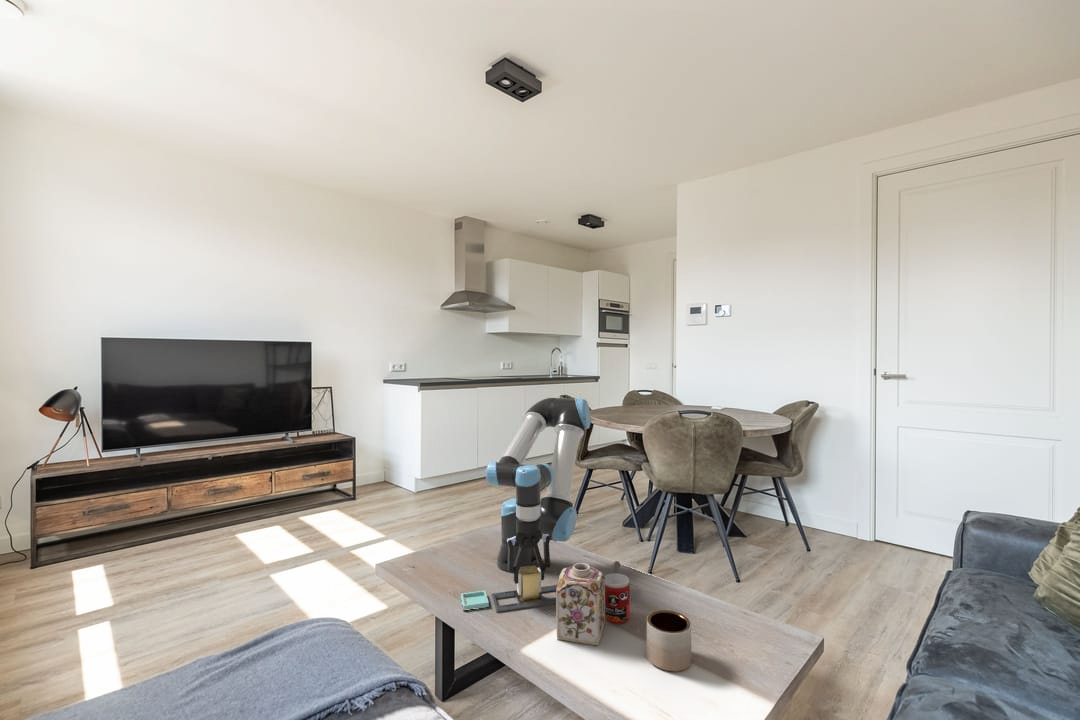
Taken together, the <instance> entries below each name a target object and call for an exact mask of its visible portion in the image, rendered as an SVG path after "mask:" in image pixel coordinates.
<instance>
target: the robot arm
mask: <svg viewBox="0 0 1080 720" xmlns="http://www.w3.org/2000/svg"><path fill="white" fill-rule="evenodd" d="M590 427H591V410H590V406H589V403H588V401H587V400H586V399H583V398H576V397H574V398H571V397H570V398H566V397H565V398H564V397H563V398H562V397H547V398H546V397H545V398H544V399H542V400H540V401H537V402H536V403H535V404H533V405H532V406H530V407H529V409H528V410H526V412H525V414H524V416H523V417H522V424H521V425H520V426H519V429H518V430H517V432H516V434H514V437H513V439H512V440H511V442H510V443H509V445H508V447H507V448H506V450H505V451H504V453H503V455H502V456H501V458H500V459H499V461H498V462H497V461H494V462H493V461H492V462H489V463H488V465H487V466H486V470H485V479H486V482H487V483H488V484H489V485H492V486H497V487H510V488H515V496H516V497H513V498H509V499H507V500H505V501H503V503H502V505H501V509H500V510H501V511H500V519H501V520H500V521H501V522H500V523H501V526H500V527H501V534H500V535H501V543H500V546H499V550H498V553H497V556H496V566H497V567H498V569H500V570H502V571H504V572H508V573H513V581H514V584H515V585H516V590H517V592H518V594H519V595H521V573H520V571H519V569H520V567H526V566H534V565H536V567H537V569H538V571H539V572H540V576H539V592H541V587H542V581H544V580H545V571H546V569H547V568H550V567H551V559H550V556H551V555H550V541H553V542H566V541H569V540H570V538H571V537H573V536H572V535H573V533H574V532H575V528H576V525H577V514H578V513H577V510H576V508H575V507H574V506H573V505H574V503H573V502H572V500H571V492H572V486H573V481H574V480H573V479H574V473H575V466H576V459H577V453H578V448H579V440H580V438H581V437H582V436H584V434H585V430H588V429H590ZM547 428H553V429H554V432H555V433H556V437H555V438H556V439H555V444H554V449H553V454H552V455H553V456H552V459H551V460H552V461H551V465H550V464H548V463H543V462H542V463H538V464H536V465H532V464H524V463H525V460H526V458H527V457H528V455H529V453H530V452H531V449H532V448H533V446H534V444H535V442H536V441H537V439H538V437H539V435H540V433H542V432H544V431H545V430H546V429H547ZM546 488H547V489H546ZM545 489H546V493H545V494H544V495H543V496H541V492H542V491H544V490H545ZM540 540H542V541H543V542H542V543H543V544H542V545H543V559H542V555H541V553H540V548H539V542H540ZM543 560H544V561H543Z"/></svg>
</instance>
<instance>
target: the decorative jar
mask: <svg viewBox="0 0 1080 720" xmlns="http://www.w3.org/2000/svg"><path fill="white" fill-rule="evenodd" d="M604 576H605V575H604V573H602V571H600V570H598V569H597V568H595V567H594V566H591V565H589V564H588V563H584V562H578V563H575V564H574V565H572V566H568V567H564V568H562V570H561V571H560V574H559V577H558V581H557V584H556V585H557V589H556V591H555V592H556V596H555V598H556V604H555V606H556V612H555V613H556V615H555V616H556V621H555V623H556V640H557V641H558V640H559V641H566V642H572V643H578V644H583V645H590V646H599V645H600V642H601V639H602V634H603V631H604V626H605V624H606V623H605V622H606V620H605V577H604Z"/></svg>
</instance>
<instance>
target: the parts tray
mask: <svg viewBox="0 0 1080 720" xmlns="http://www.w3.org/2000/svg"><path fill="white" fill-rule="evenodd" d="M464 597H465V599H466V601H467V604H466V605H465V602H464ZM461 600H462V602H461V606H462V605H463V607H462V610H463V609H473V608H484V609H486V608H485V607H489V608H490V606H489V605H490V604H489V599H488V596H487V592H486V590H477V591H471V592H464V593H460V601H461Z"/></svg>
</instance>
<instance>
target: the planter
mask: <svg viewBox="0 0 1080 720" xmlns="http://www.w3.org/2000/svg"><path fill="white" fill-rule="evenodd" d="M645 645H646V649H645V651H646V657H647V659H648V661H649V662H650V663H651V664H652V665H653V666H655V667H656V668H659V669H660V670H663V671H666V672H680V671H681V672H682V671H683V670H686V669H687V668H689V667H690V665H691V663H692V653H693V652H692V624H691V620H690V619H689V618H688V617H687V616H685V615H684V614H683V613H680V612H677V611H675V610H669V609H657V610H654V611H652V612H650V613H648V615H647V616H646V643H645Z"/></svg>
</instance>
